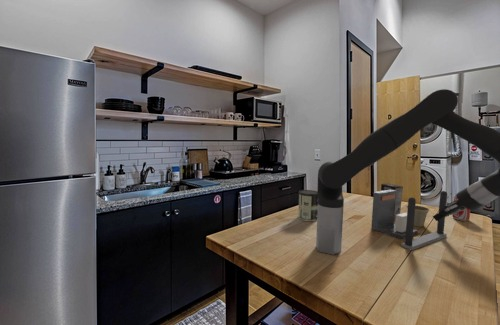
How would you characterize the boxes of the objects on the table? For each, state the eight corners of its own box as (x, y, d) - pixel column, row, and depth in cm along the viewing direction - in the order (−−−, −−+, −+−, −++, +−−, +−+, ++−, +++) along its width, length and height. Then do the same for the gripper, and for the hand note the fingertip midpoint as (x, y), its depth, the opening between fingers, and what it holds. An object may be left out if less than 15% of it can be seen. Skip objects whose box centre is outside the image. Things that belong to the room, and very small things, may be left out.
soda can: (462, 217, 139) (465, 194, 138) (473, 221, 132) (475, 197, 130) (448, 216, 140) (451, 193, 138) (458, 221, 132) (460, 196, 131)
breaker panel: (417, 233, 114) (421, 195, 113) (401, 239, 108) (404, 198, 106) (387, 224, 126) (390, 189, 125) (371, 228, 120) (373, 192, 118)
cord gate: (446, 236, 111) (450, 191, 109) (411, 250, 97) (416, 198, 95) (436, 233, 115) (440, 189, 112) (401, 246, 101) (405, 196, 99)
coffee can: (315, 215, 139) (316, 189, 138) (320, 221, 129) (321, 194, 128) (296, 215, 139) (297, 189, 138) (299, 221, 129) (300, 193, 128)
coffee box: (378, 211, 149) (380, 183, 147) (386, 209, 151) (388, 183, 150) (392, 215, 141) (395, 186, 139) (401, 214, 143) (403, 186, 141)
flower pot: (432, 228, 122) (434, 210, 121) (413, 228, 121) (415, 210, 120) (418, 221, 131) (420, 205, 130) (401, 221, 131) (402, 205, 130)
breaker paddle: (411, 229, 114) (412, 214, 114) (401, 232, 110) (402, 216, 110) (404, 227, 117) (406, 212, 116) (394, 230, 113) (395, 214, 112)
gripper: (476, 184, 96) (436, 208, 108) (460, 187, 89) (419, 212, 101) (493, 201, 92) (450, 224, 103) (477, 206, 85) (433, 230, 97)
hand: (435, 218), depth 102 cm, fingers closed
